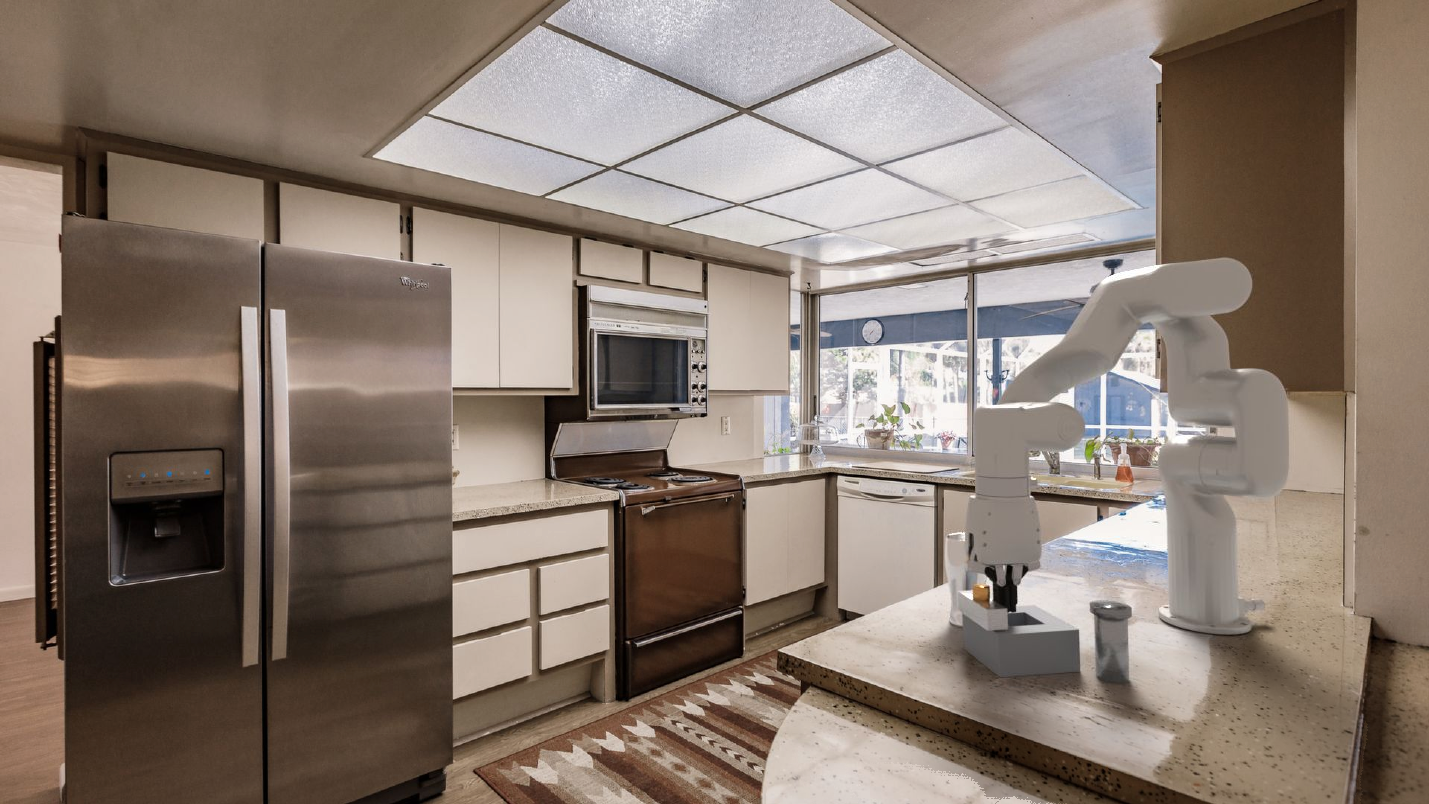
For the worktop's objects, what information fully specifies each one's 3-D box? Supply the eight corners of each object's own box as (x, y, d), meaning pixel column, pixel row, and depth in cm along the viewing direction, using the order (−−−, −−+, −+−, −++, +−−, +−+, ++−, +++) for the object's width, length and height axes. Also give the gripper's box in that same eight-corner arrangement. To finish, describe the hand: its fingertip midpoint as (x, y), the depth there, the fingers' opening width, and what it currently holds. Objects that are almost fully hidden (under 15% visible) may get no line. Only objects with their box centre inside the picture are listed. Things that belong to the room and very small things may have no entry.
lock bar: (976, 609, 102) (975, 577, 102) (1007, 629, 93) (1006, 594, 93) (958, 610, 102) (957, 578, 102) (987, 630, 93) (986, 595, 93)
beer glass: (993, 630, 110) (990, 541, 110) (950, 629, 111) (947, 541, 111) (985, 616, 117) (982, 532, 117) (944, 615, 118) (941, 532, 118)
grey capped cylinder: (1116, 668, 94) (1114, 599, 93) (1142, 684, 89) (1140, 610, 88) (1083, 671, 93) (1081, 601, 93) (1107, 686, 88) (1105, 612, 88)
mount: (1035, 642, 104) (1034, 605, 104) (1080, 671, 93) (1079, 629, 93) (963, 647, 103) (962, 609, 103) (999, 677, 92) (998, 635, 92)
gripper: (1035, 482, 102) (1038, 599, 102) (943, 486, 101) (946, 605, 101) (1065, 488, 95) (1068, 615, 95) (966, 493, 93) (969, 621, 93)
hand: (1005, 609), depth 98 cm, fingers closed
